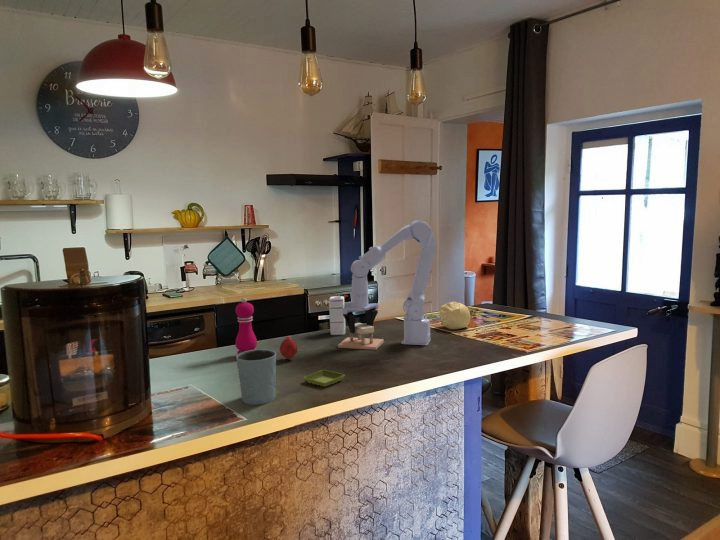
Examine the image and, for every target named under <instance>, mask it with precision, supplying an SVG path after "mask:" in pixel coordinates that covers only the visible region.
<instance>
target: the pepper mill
mask: <svg viewBox="0 0 720 540" xmlns="http://www.w3.org/2000/svg"><path fill="white" fill-rule="evenodd" d="M247 301H248V299H247V298H246V297H243V298H242V299H241V302H239V303H238V304H237V305H236V307H235V314H236V315H237V322H238V325H239V326H238V327H239V328H238V332H237V336H236V338H235V347H236V349H238V350H237V354H236V356H237V355H238V354H240V353H242V352H245V351H249V350H256V347H257V346H258V340H257V336H256V335H255V332H254V330H253V326H252V321H253V320H254V319H253V318H254V316H253V314H254V311H255V309H254V308H255V307H254V305H253V304H252V303H250V302H247Z"/></svg>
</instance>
